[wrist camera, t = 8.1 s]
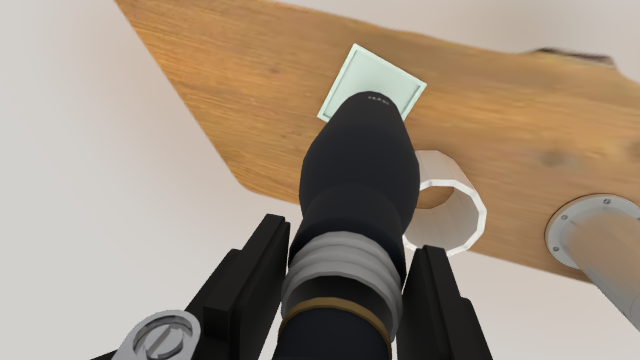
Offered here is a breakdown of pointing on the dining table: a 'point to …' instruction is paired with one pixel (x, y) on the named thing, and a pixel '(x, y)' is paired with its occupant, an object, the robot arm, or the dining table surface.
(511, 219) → the dining table surface
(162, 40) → the dining table surface
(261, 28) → the dining table surface
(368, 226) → the wine bottle
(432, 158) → the wine cooler
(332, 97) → the sage tray
